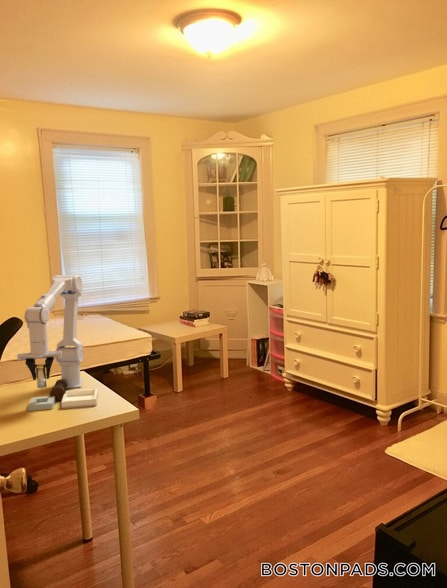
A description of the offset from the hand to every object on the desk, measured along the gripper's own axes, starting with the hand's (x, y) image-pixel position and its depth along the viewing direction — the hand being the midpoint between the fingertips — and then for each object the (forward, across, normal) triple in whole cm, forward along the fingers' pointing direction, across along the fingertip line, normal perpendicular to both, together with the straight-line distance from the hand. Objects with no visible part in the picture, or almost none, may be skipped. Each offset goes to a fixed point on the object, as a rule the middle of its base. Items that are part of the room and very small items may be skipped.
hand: (41, 378), depth 171 cm
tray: (+10, +13, +1) cm, 16 cm away
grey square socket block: (+10, 0, 0) cm, 10 cm away
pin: (+3, 0, 0) cm, 3 cm away
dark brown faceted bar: (+10, +5, +11) cm, 15 cm away
